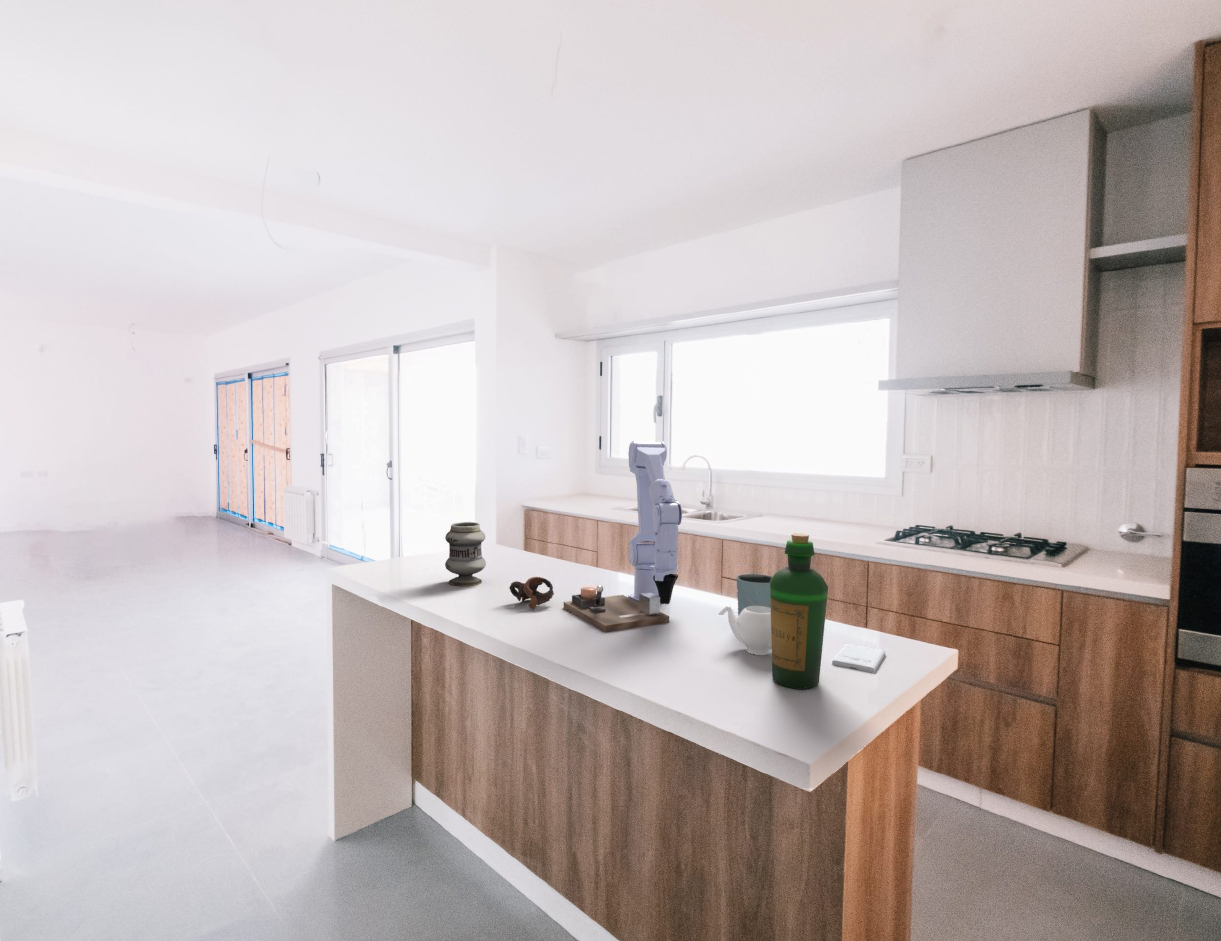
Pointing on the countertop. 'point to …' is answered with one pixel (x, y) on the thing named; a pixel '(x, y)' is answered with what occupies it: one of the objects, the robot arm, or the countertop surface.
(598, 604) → the toggle lever
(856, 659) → the external hard drive
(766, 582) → the blue-gray cylindrical pot
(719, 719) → the countertop surface
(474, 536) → the apothecary jar
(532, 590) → the brown curved loop piece
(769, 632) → the teapot
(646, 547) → the robot arm
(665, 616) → the control panel
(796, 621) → the bottle
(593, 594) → the push button
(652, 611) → the gray rectangular block
